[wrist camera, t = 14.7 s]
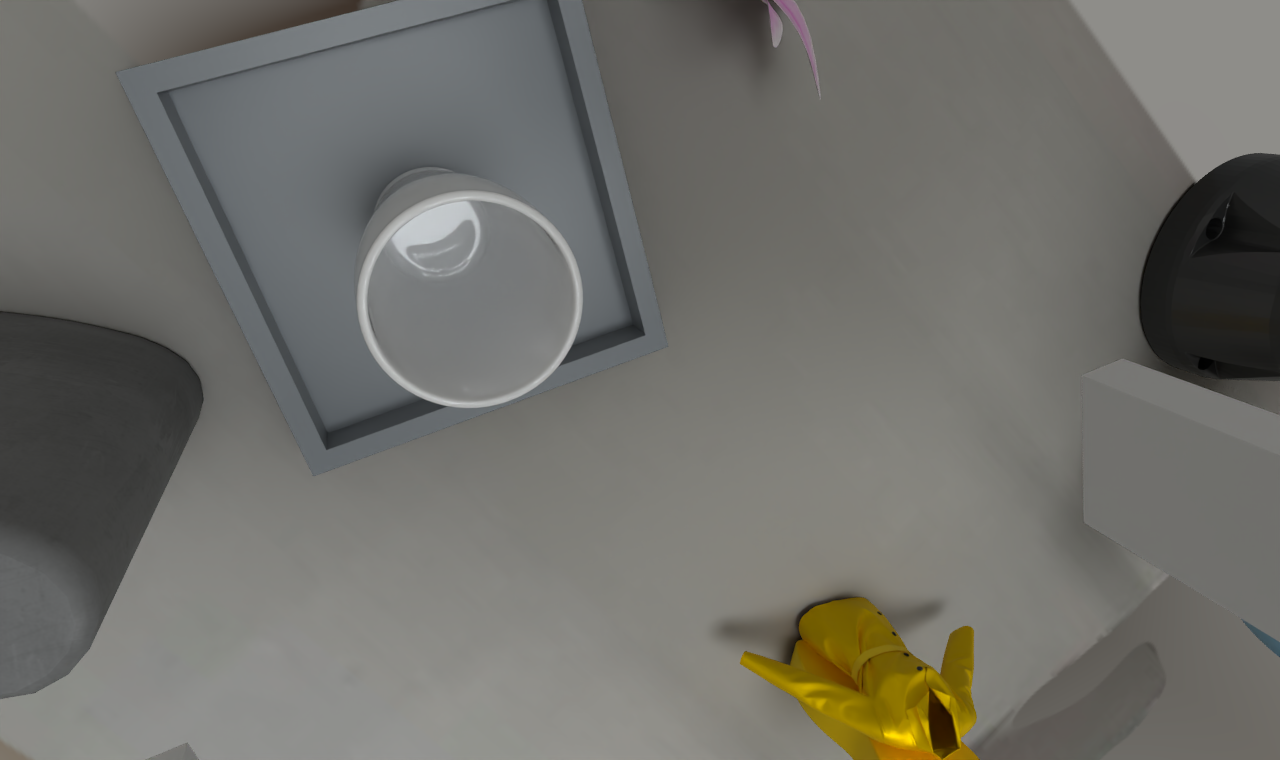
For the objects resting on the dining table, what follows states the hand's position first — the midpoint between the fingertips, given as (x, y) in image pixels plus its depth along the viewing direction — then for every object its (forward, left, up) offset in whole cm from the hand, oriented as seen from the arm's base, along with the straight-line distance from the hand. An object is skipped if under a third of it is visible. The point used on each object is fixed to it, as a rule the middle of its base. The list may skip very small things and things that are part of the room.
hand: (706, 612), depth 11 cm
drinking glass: (+1, -1, -30) cm, 30 cm away
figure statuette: (-15, +34, -31) cm, 48 cm away
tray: (+1, -1, -31) cm, 31 cm away
